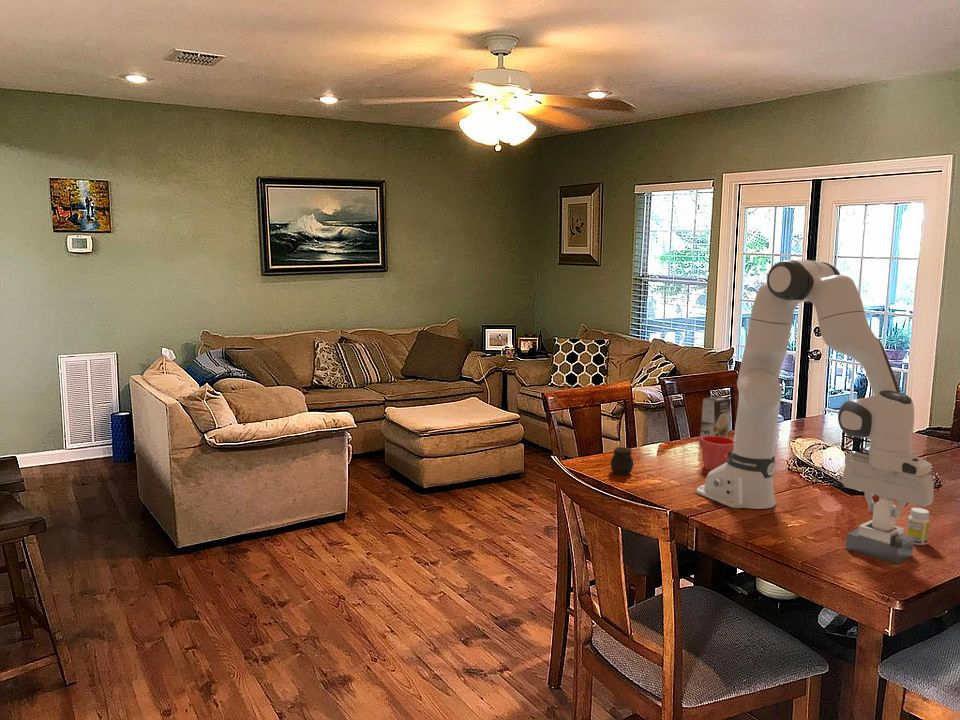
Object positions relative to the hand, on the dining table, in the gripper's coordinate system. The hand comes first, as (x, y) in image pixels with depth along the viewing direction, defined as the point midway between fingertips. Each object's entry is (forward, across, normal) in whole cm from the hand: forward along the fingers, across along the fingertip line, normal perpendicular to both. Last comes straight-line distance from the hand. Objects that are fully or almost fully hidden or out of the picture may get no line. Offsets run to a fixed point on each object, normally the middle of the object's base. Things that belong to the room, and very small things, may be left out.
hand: (883, 513), depth 191 cm
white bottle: (+4, 0, 0) cm, 4 cm away
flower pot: (+10, -65, +29) cm, 72 cm away
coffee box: (+10, -86, +60) cm, 106 cm away
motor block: (+10, 0, 0) cm, 10 cm away
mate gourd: (+10, -80, -1) cm, 81 cm away
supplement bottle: (+10, +3, +15) cm, 18 cm away
